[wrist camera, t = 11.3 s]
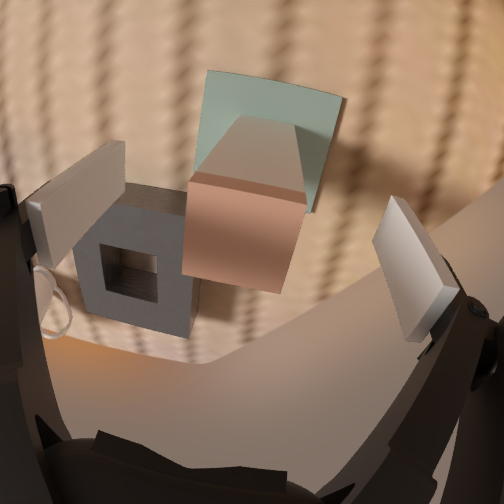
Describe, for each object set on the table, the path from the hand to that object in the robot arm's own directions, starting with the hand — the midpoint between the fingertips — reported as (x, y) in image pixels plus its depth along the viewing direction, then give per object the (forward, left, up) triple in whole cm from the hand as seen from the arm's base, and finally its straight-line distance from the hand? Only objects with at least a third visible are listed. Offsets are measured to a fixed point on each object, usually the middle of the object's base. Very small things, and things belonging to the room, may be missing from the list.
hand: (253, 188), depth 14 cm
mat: (0, 0, -10) cm, 10 cm away
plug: (0, 0, -10) cm, 10 cm away
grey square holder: (+13, -10, -10) cm, 19 cm away
